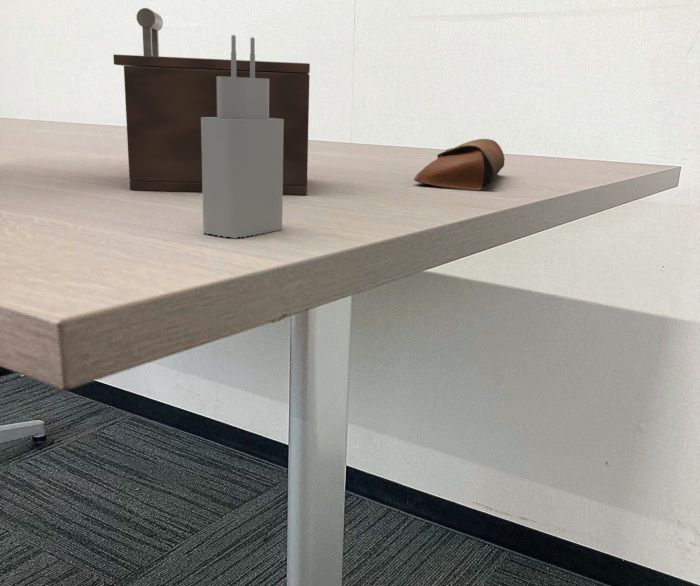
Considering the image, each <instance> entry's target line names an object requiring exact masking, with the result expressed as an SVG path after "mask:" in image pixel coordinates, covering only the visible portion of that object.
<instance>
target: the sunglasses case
mask: <svg viewBox="0 0 700 586" xmlns="http://www.w3.org/2000/svg"><path fill="white" fill-rule="evenodd" d="M436 157H437V158H436V159H434V160H432V161H431V162H429V163H428V164H427V165H426V166H424V168H422V169H421V170H420V171H419V172H418V173H417V174H416V175H415V177H414V179H413V181H414V182H417V183H419V184H423V185H429V186H433V187H437V188H443V189H448V190H449V189H450V190H461V191H462V190H464V191H476V192H477V191H478V192H480V191H482V190H484V189H487V188H488V187H489V186H490V185H491V184H493V183H494V182H495V180H496V178H497V176H498V174H499V173H500V172H501V170H502V169H503V168H504V166H505V160H506V159H505V154H504V152H503V149H502V147H501V146H500V145H499V143H498V142H497V141H495V140H493V139H490V138H477V139H473V140H469V141H467V142H465V143H461V144H460V145H457V146H455V147H450V148H447V149H445V151H442V152H440V153H438V154H437V155H436Z"/></svg>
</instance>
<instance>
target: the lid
mask: <svg viewBox="0 0 700 586" xmlns="http://www.w3.org/2000/svg"><path fill="white" fill-rule="evenodd" d="M135 18H136V22H137V23H138V25H139V26H140V27H141V28H142V48H143V49H142V50H143V55H135V54H133V55H132V54H115V53H114V54H113V55H112V56H113V58H112V59H113V64H114V65H115V66H122V67H124V66H142V67H164V68H187V69H209V70H231V59H223V58H201V57H199V58H198V57H182V56H181V57H179V56H160V47H159V46H160V43H159V40H160V39H159V31H161V30H162V28H163V27H164V20H163V18H162V16H161V15H160V14H159V13H157V12H155V11H153V10H152V9H150V8H149V7H148V8H147V7H142V8H141V9H139V10H138V11H137V13H136V17H135ZM310 69H311V65H310V63H308V62H288V61H287V62H286V61H267V60H265V61H264V60H255V72H277V73H300V74H310ZM236 71H250V60H246V59H245V60H244V59H236Z"/></svg>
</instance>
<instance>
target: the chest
mask: <svg viewBox="0 0 700 586" xmlns="http://www.w3.org/2000/svg"><path fill="white" fill-rule="evenodd" d="M216 76H224V77H231V70H209V69H187V68H164V67H142V66H123V78H124V79H123V80H124V82H123V83H124V98H125V100H124V101H125V102H124V103H125V115H126V116H125V117H126V119H125V121H126V135H127V137H126V139H127V141H126V142H127V157H128V158H127V159H128V180H129V190H130V191H147V192H148V191H150V192H151V191H152V192H179V193H180V192H182V193H183V192H184V193H203V192H202V143H201V117H217V81H216ZM236 77H245V78H250V71H236ZM310 77H311V76H310V73H308V74H300V73H277V72H255V78H263V79H269V118H277V119H284V129H283V195H284V196H285V195H286V196H287V195H289V196H307V195H308V168H309V167H308V166H309V165H308V163H309V160H308V159H309V122H310V121H309V117H310V116H309V114H310Z"/></svg>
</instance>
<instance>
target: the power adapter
mask: <svg viewBox="0 0 700 586" xmlns="http://www.w3.org/2000/svg"><path fill="white" fill-rule="evenodd" d="M230 37H231V39H230V41H231V43H230V44H231V52H230V60H231V77H224V76H216V81H217V117H201V143H202V192H201V193H202V233H203V232H204V233H208V234H214V235H217V236H216V237H220V236H223V237H222V238H226V237H231V238H230V239H242V238H241V237H244V238H248V237H247V236H249V237H252V236H251V235H253V236H258V235H263V234H267V233H271V232H276V231H281V230H283V206H284V205H283V129H284V119H277V118H269V79H263V78H255V61H256V54H255V49H256V47H255V46H256V44H255V37H253V36H252V37H250V39H249V41H250V43H249V44H250V46H249V47H250V50H249V51H250V53H249V61H250V78H245V77H236V60H237V44H236V43H237V39H236V35H235V34H231V35H230ZM204 233H203V234H204ZM262 233H263V234H262ZM208 234H207V235H208ZM257 234H258V235H257ZM214 235H213V236H214ZM238 237H240V238H238Z"/></svg>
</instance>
